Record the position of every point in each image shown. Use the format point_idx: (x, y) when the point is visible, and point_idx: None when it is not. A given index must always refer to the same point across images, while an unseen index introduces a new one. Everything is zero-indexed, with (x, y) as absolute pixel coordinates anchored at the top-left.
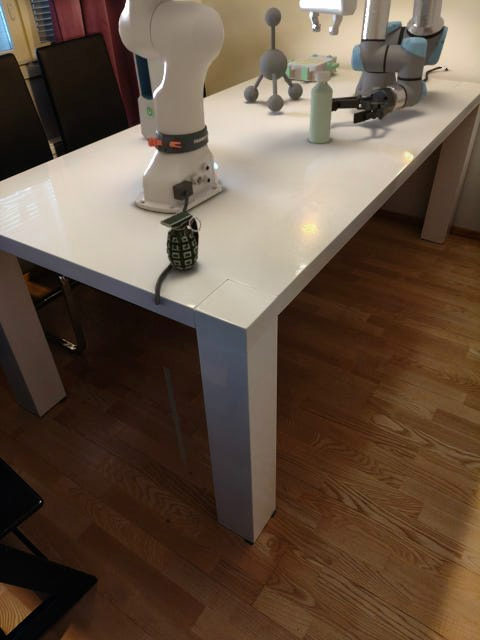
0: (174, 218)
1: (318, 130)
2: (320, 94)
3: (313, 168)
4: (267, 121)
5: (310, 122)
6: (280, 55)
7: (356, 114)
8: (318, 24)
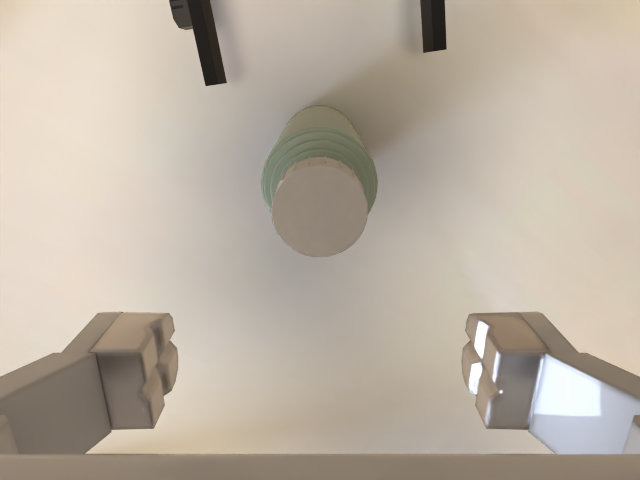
0: None
1: None
2: None
3: (512, 301)
4: (5, 179)
5: None
6: None
7: (444, 44)
8: (147, 384)
